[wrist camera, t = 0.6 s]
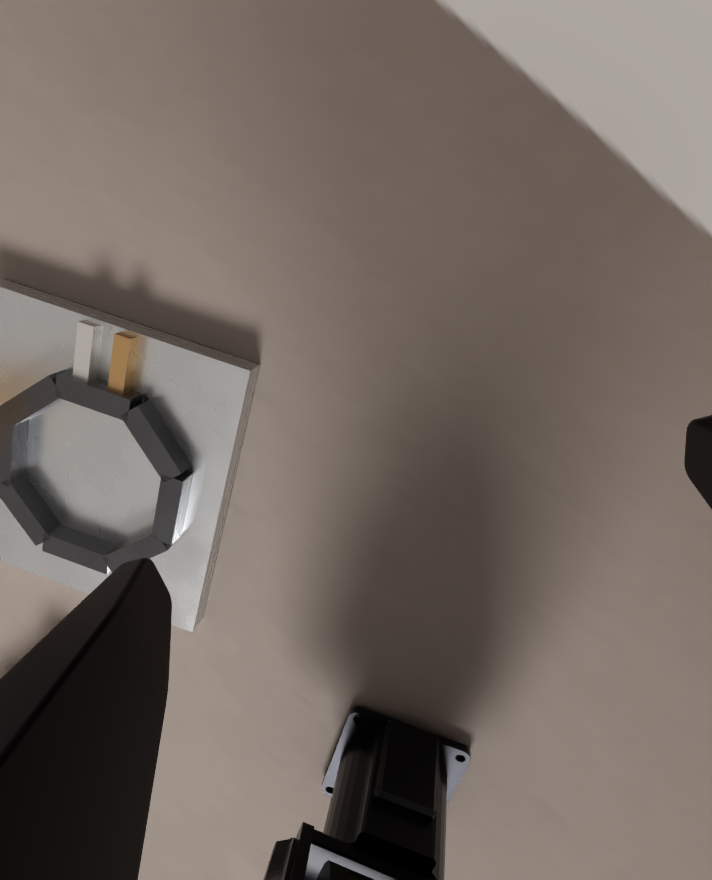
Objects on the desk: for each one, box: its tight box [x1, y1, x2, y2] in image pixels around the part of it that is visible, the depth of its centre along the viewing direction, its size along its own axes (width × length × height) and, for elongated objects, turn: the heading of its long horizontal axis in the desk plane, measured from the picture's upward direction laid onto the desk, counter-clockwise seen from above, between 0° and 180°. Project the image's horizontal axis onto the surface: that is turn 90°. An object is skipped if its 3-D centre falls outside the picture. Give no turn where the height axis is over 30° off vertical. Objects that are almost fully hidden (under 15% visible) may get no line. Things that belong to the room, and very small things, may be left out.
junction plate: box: [0, 279, 260, 633], centre depth 26 cm, size 14×12×2 cm
